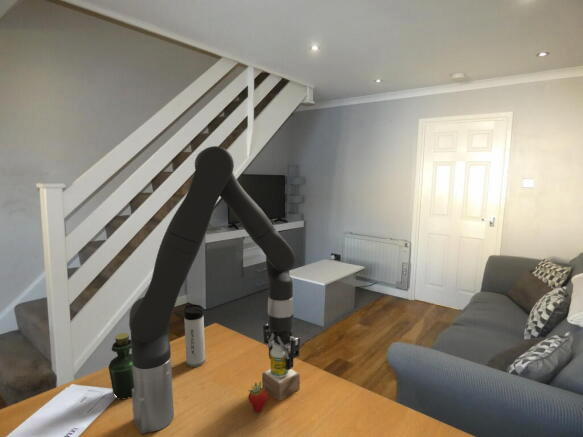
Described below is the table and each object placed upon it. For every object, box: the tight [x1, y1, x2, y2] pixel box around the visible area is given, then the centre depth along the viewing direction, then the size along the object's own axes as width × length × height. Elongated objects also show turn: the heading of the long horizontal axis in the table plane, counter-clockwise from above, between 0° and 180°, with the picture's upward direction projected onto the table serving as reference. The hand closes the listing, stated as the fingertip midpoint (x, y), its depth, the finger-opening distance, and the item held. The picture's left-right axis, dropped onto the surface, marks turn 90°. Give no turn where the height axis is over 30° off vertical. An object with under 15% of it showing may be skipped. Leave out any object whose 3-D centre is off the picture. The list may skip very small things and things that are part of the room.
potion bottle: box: [108, 332, 134, 400], centre depth 101 cm, size 8×8×18 cm
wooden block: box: [261, 368, 301, 402], centre depth 104 cm, size 8×8×5 cm
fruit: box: [247, 381, 269, 413], centre depth 94 cm, size 5×5×8 cm
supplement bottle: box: [270, 341, 288, 378], centre depth 102 cm, size 5×5×10 cm
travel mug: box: [183, 303, 206, 368], centre depth 117 cm, size 6×7×20 cm
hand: (280, 363), depth 103 cm, fingers open, 7 cm apart
